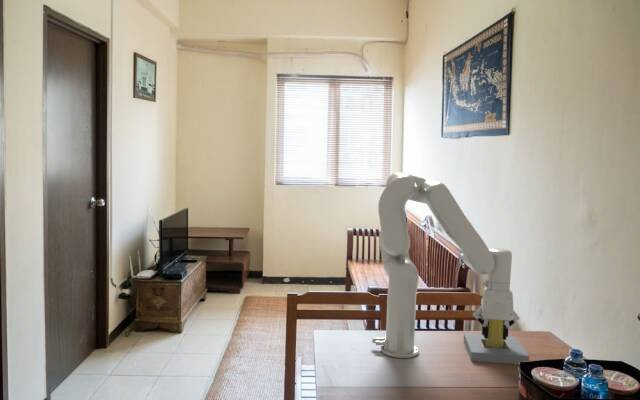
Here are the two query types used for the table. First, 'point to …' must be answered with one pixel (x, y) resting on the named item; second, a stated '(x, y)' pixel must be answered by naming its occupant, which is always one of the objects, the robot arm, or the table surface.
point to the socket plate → (495, 350)
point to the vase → (495, 334)
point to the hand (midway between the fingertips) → (494, 337)
